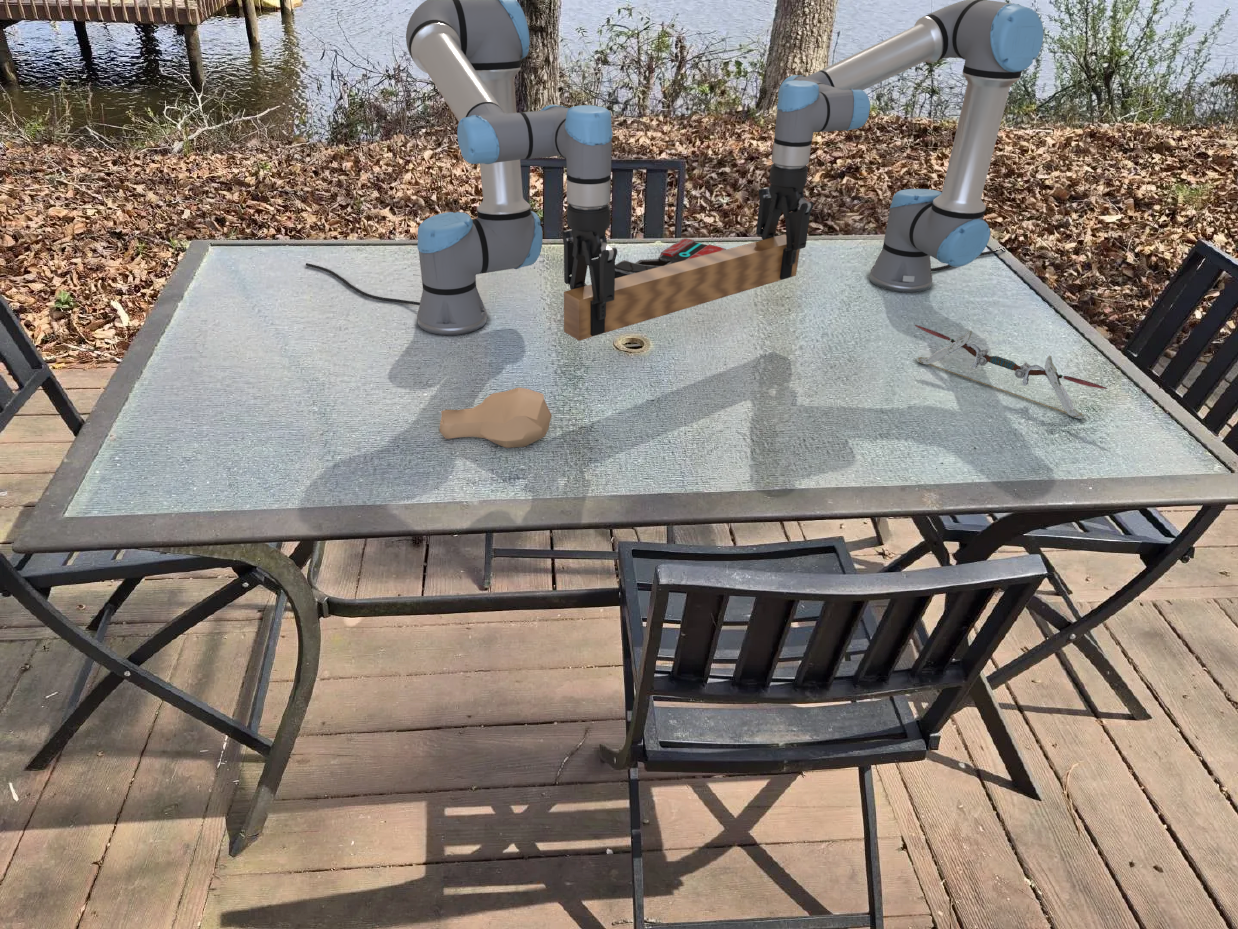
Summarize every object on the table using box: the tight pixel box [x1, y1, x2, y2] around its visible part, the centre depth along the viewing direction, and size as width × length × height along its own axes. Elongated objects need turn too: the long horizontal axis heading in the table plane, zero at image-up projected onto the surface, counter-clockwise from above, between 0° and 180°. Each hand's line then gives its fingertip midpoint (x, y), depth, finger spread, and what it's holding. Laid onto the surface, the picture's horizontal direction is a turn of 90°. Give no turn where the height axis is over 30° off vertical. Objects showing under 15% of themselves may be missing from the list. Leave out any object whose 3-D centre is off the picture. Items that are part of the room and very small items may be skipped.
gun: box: [615, 237, 727, 278], centre depth 222 cm, size 4×31×19 cm
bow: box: [914, 324, 1108, 420], centre depth 174 cm, size 39×2×10 cm, turn 47°
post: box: [563, 233, 801, 342], centre depth 175 cm, size 59×5×8 cm, turn 128°
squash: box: [438, 387, 553, 449], centre depth 154 cm, size 11×20×9 cm, turn 90°
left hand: (588, 328), depth 163 cm, fingers closed on post, 5 cm apart
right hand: (776, 273), depth 190 cm, fingers closed on post, 5 cm apart
